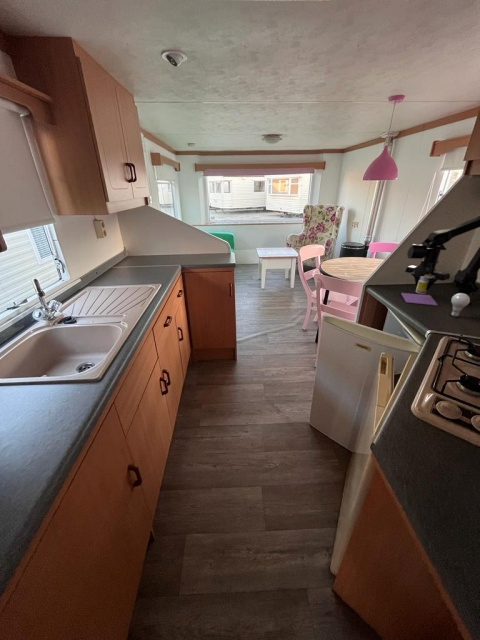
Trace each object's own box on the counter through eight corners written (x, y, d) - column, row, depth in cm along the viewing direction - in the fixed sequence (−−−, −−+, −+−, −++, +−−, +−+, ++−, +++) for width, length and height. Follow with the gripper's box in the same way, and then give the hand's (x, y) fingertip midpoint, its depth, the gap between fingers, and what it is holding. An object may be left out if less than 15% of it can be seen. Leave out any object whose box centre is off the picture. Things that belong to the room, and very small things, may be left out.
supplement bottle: (427, 294, 135) (432, 278, 132) (417, 293, 136) (422, 278, 132) (423, 291, 139) (428, 275, 136) (413, 290, 140) (418, 275, 137)
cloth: (400, 293, 148) (401, 292, 147) (429, 296, 143) (430, 295, 143) (406, 302, 136) (406, 301, 136) (437, 305, 132) (438, 305, 131)
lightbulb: (455, 313, 124) (464, 290, 119) (466, 319, 118) (476, 296, 113) (442, 313, 124) (450, 291, 119) (452, 319, 118) (461, 296, 113)
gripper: (402, 257, 134) (395, 286, 141) (442, 265, 119) (432, 297, 126) (415, 254, 139) (407, 282, 146) (455, 261, 124) (444, 293, 131)
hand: (421, 288), depth 137 cm, fingers closed on supplement bottle, 5 cm apart
